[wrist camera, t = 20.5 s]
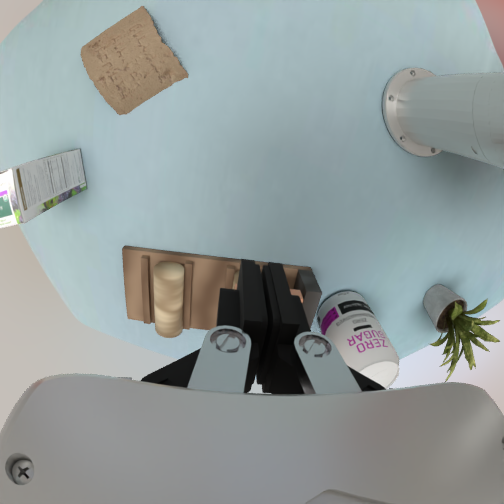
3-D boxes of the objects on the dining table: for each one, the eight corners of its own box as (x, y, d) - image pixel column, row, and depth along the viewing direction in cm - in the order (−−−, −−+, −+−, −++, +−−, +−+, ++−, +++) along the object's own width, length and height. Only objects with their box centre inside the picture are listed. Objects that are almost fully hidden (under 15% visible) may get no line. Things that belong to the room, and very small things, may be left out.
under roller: (182, 261, 39) (186, 276, 35) (180, 319, 43) (184, 336, 39) (152, 261, 37) (154, 277, 34) (154, 320, 41) (156, 338, 38)
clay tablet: (193, 79, 30) (189, 76, 27) (125, 125, 32) (117, 126, 29) (141, 1, 24) (135, -6, 22) (79, 47, 26) (69, 44, 23)
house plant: (383, 300, 44) (430, 370, 29) (442, 243, 40) (506, 296, 25) (415, 337, 49) (454, 397, 34) (466, 289, 45) (514, 340, 30)
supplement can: (329, 337, 47) (355, 408, 33) (307, 307, 44) (332, 382, 30) (371, 313, 45) (409, 378, 31) (353, 279, 42) (394, 346, 28)
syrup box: (56, 195, 34) (-8, 234, 21) (49, 155, 31) (-22, 180, 18) (88, 188, 34) (24, 227, 21) (80, 146, 31) (10, 166, 18)
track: (310, 267, 41) (322, 292, 35) (291, 332, 46) (298, 361, 40) (124, 245, 38) (107, 267, 32) (129, 314, 43) (117, 341, 37)
